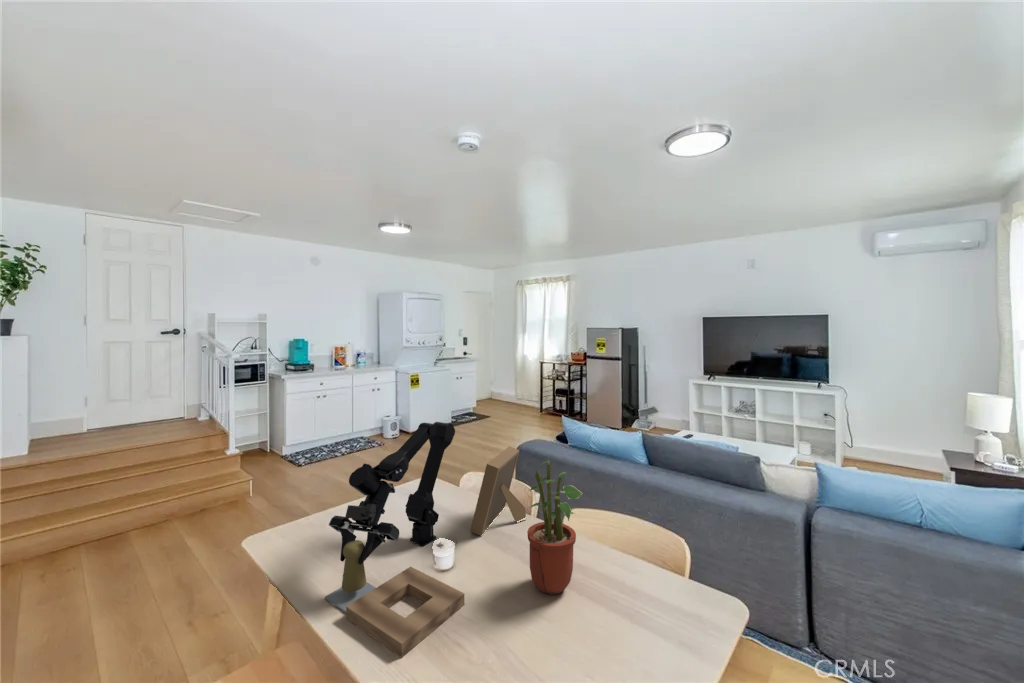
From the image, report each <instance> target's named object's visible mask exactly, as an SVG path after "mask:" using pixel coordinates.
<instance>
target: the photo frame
mask: <svg viewBox="0 0 1024 683" xmlns="http://www.w3.org/2000/svg"><path fill="white" fill-rule="evenodd" d="M519 453H520V449H519V448H515V447H512V446H509V445H508V447H506V448H505V449H504V450H502V451H501V452H500V453H499V454H497V455H496V456H494V458H492V459H491V460H490V461H488V462H487V463H486V466H485V470H484V474H483V478H482V481H481V486H480V490H479V492H478V493H479V494H478V498H477V502H476V505H475V508H474V509H475V510H474V514H473V518H472V522H471V526H470V532H471V533H473V534H475V535H477V534H479V535H482V534H483V533H484V532H485V530H486V529H487V528H488V527H489V525H490V524H491V523H492V522H493V520H494V519H495V518H496V517H497V516H498V515H499V513H500V512H501V511H502V510H503V508H504V507H505V508H506V504H507V507H508V508H509V511H510V513H511V516H512V518H513V519H514V522H515V523H516V522H517V521H519V520H521V519H523V518H525V517H526V518H527V515H526V514H527V513H526V507H525V506H524V505H523V504H522V503H521V501H520V500H518V498H517V497H516V496H515V495H514V494H513V493H512V491H510V488H511V486H512V482H513V477H514V475H515V474H514V473H515V470H516V466H517V462H518V458H519ZM499 516H500V515H499ZM499 516H498V517H499ZM493 523H494V522H493ZM489 528H490V527H489ZM489 528H488V529H489ZM488 529H487V530H488ZM485 533H486V532H485ZM485 533H484V534H485ZM484 534H483V535H484ZM479 535H478V536H479ZM483 535H482V536H483Z"/></svg>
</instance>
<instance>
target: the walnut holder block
mask: <svg viewBox="0 0 1024 683" xmlns="http://www.w3.org/2000/svg"><path fill="white" fill-rule="evenodd" d="M408 596H409V597H412V598H413V599H415V600H417V601H419V602H421V603H422V605H420V606H419V607H418V608H417V609H414V611H412V612H411V613H410V614H408V615H407V616H406V617H404V616H403V615H401V614H399V613H398V612H396V611H394V610H392V609H391V608H392V607H393V606H395V605H396V604H398V603H399V602H401V601H402V600H403V599H405V598H406V597H408ZM464 606H465V592H462V591H461V590H459V589H456V588H454V587H452V586H450V585H448V584H446V583H444V582H442V581H440V580H439V579H437V578H435V577H433V576H431V575H430V574H429V575H428V574H426V573H425V572H424V571H421V570H419V569H417V568H414V567H413V566H409V567H408V568H406V569H404V570H402V571H401V572H399V573H398V574H396V575H394V576H393V577H391V578H389V579H388V580H386V581H385V582H384V583H382V584H380V585H378V586H377V587H376V588H375V589H373V590H372V591H370V592H369V593H367V594H365V595H364V596H362V597H361V598H359V599H357V600H356V601H354V602H353V603H351V604H349V605H348V606H346V613H345V616H346V618H345V620H348V622H350V623H352V624H353V625H355V626H356V627H357V628H359V629H360V630H362V631H363V632H364V633H366V634H367V635H369V636H370V637H372V638H373V639H374V640H376V641H377V642H379V643H380V644H381V645H383V646H384V647H386V648H387V649H389V650H390V651H392V652H393V653H395V654H396V655H397V656H399V657H400V658H404V657H405V656H406V655H407V654H408V653H409V652H411V651H412V650H413V649H415V647H417V646H418V645H419V644H420V643H421V642H423V641H424V640H425V639H426V638H427V637H429V636H430V635H431V634H432V633H433V632H434V631H435V630H437V629H438V628H439V627H440V626H441V625H443V624H444V623H445V622H446V621H447V620H448V619H449V618H451V617H452V616H453V615H455V614H456V613H457V612H458V611H459V610H461V607H463V608H464Z"/></svg>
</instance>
